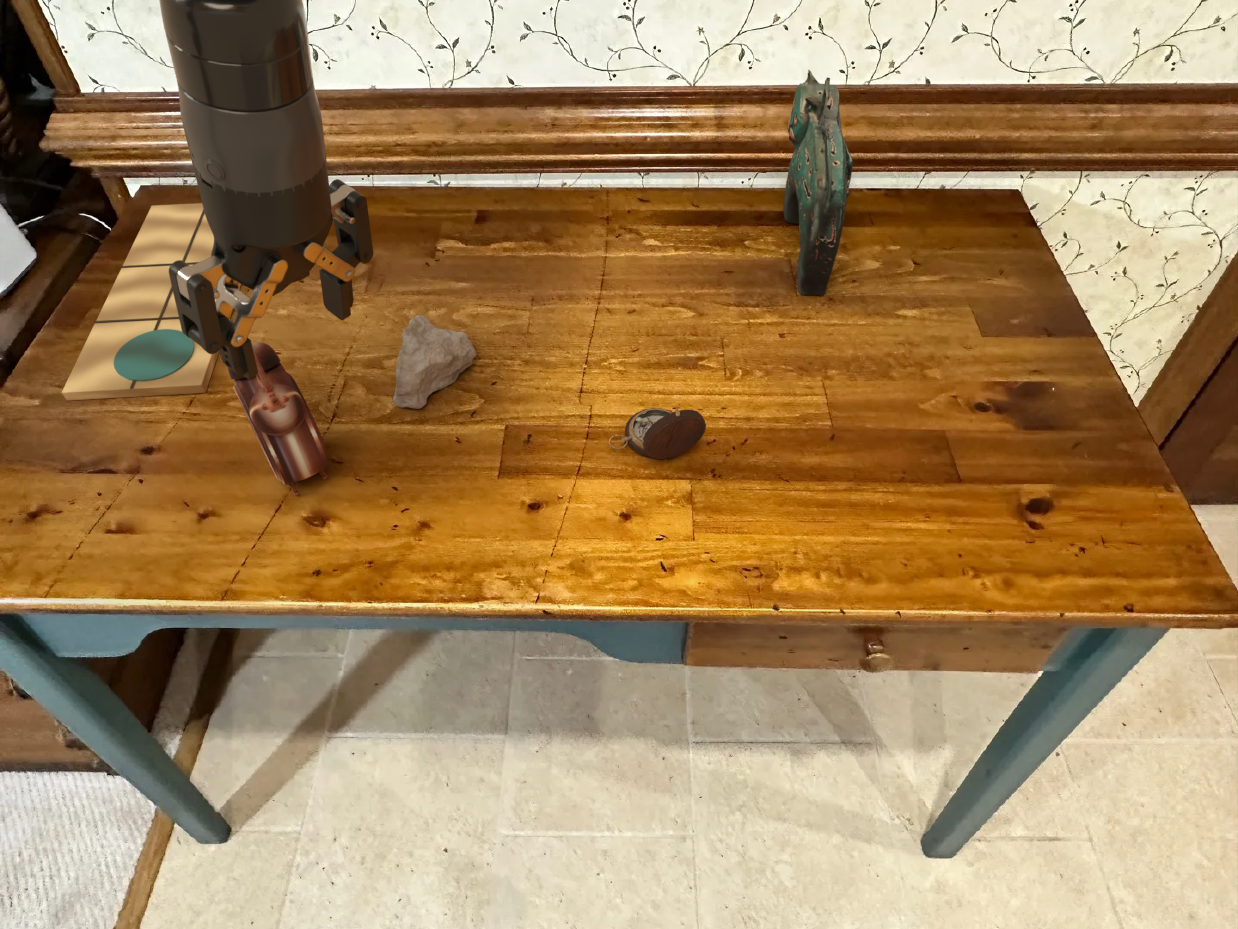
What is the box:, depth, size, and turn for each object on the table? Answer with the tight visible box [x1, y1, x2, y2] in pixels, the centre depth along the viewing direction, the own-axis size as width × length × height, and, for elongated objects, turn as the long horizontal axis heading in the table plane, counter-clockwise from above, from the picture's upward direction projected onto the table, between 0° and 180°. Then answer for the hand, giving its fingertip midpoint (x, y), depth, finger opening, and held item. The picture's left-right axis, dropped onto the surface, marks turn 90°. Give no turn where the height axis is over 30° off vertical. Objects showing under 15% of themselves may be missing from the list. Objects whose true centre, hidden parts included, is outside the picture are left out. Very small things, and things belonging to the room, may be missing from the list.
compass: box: [608, 406, 707, 460], centre depth 83 cm, size 8×8×7 cm
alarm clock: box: [226, 341, 329, 497], centre depth 78 cm, size 11×5×15 cm, turn 33°
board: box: [61, 202, 242, 402], centre depth 101 cm, size 34×14×1 cm, turn 4°
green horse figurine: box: [782, 69, 854, 296], centre depth 99 cm, size 20×6×20 cm, turn 178°
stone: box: [391, 314, 477, 410], centre depth 90 cm, size 10×8×6 cm
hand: (292, 341), depth 65 cm, fingers open, 8 cm apart
